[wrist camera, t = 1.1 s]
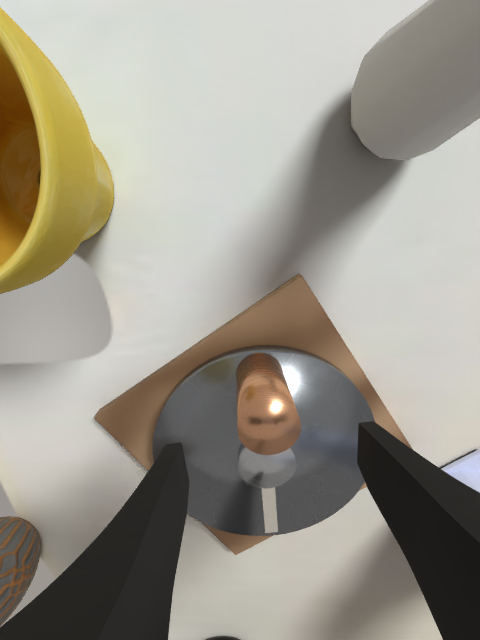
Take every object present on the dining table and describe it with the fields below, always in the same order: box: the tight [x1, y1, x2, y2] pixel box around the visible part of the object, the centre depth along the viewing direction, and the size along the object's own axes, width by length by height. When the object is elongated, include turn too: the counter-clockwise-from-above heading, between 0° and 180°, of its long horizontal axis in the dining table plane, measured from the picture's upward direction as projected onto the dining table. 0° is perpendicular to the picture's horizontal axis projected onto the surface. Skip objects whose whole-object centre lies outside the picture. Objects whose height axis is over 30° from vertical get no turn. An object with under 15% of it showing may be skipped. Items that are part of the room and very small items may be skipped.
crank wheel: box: [153, 345, 375, 536], centre depth 19 cm, size 16×16×7 cm
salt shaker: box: [351, 0, 480, 160], centre depth 11 cm, size 6×6×13 cm
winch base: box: [94, 274, 413, 555], centre depth 23 cm, size 18×18×1 cm
